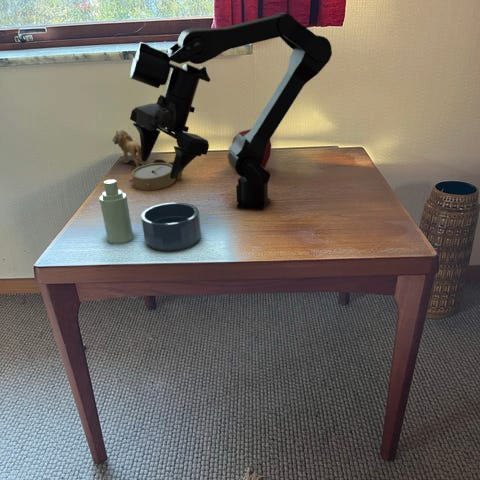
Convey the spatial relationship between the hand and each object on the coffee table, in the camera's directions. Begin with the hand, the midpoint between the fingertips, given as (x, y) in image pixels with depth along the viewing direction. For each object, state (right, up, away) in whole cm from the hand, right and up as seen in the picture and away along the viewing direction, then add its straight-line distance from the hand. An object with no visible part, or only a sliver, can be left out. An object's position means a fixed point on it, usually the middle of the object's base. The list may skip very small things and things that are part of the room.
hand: (157, 169), depth 111 cm
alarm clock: (-4, +5, +27) cm, 28 cm away
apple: (+21, +8, +31) cm, 38 cm away
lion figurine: (-14, +14, +42) cm, 46 cm away
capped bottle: (-7, -15, -2) cm, 17 cm away
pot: (+4, -16, -4) cm, 17 cm away
